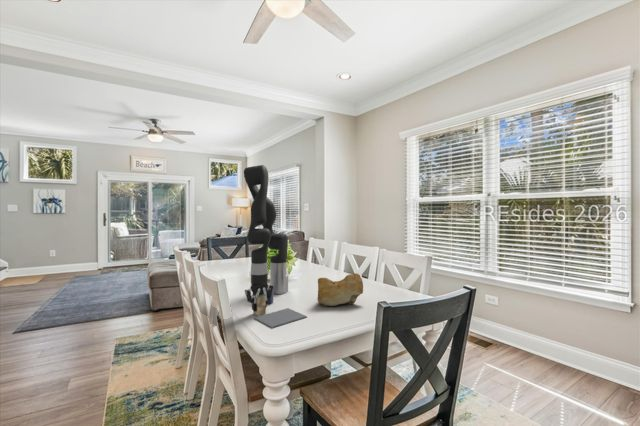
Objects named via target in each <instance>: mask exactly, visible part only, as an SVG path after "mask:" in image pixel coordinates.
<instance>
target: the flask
mask: <svg viewBox="0 0 640 426" xmlns="http://www.w3.org/2000/svg"><path fill="white" fill-rule="evenodd" d="M272 286H273V285H272ZM266 293H267V289H266ZM271 304H274V294H273V290H272V294H271V298H270V299H268V300H267V305H271Z"/></svg>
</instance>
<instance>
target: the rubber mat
mask: <svg viewBox="0 0 640 426" xmlns="http://www.w3.org/2000/svg"><path fill="white" fill-rule="evenodd" d="M253 318H254V320H255V321H257V322H259V323H261V324H263V325H265V326H267V327H268V328H270V329H274V328H278V327H281V326H284V325H288V324H290V323H293V322H296V321H301V320H303V319H306V318H308V316H307V315H305V314H302V313H300V312H298V311H295V310H293V309H291V308H289V307H287V308H283V309H280V310H277V311H273V312H268V313H266V314H263V315H260V316H257V315H256V316H254V317H253Z"/></svg>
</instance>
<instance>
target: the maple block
mask: <svg viewBox="0 0 640 426" xmlns="http://www.w3.org/2000/svg"><path fill="white" fill-rule="evenodd" d="M254 295H255V294H254ZM255 296H256V295H255ZM256 303H257V311H256V312H254V311H253V310H252V311H253V315H255V316H256V317H257V316H259V315H260V316H261V315H265V314H267V312H266V311H267V310H266V309H267V307H266V294H261V295H258V296H257V302H256Z"/></svg>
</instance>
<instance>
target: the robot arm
mask: <svg viewBox="0 0 640 426" xmlns="http://www.w3.org/2000/svg"><path fill="white" fill-rule="evenodd" d="M268 172H269V171H268V168H267V166H265V165H264V164H261V165H254V166H249V167H245V168H244V170H243V177H244V180H245V183H246V185H247V188H248V190H249V192H250V194H251V196H252V200H253V201H252V203H251V206H250V223H249V224H250V225H249V228H248V230H247V235H246V240H247V242H248V243H249V244H250V245H262V246H261V247H260V248H255V249H252V250H251V257H250V259H251V260H250V261H251V263H250V288H248V289H245V290H244V295H245V297H246V300H247V302H248V303H250V304H251V309H252V311H254V312H256V311H257V303H256V302H257V296H258V295H261V294H266V308H267V307H268V304H267V300H268V299H270V298H271V294H272V290H273V295H281V294H286V293H287V292H289V275H288V274H287V273H288V272H287V270H288V268H287V262H288V261H287V260H288V246H289V242H288V241H289V239H288V236H287V234H286V233H275V232H274V230H273V225H274V223H275V221H276V218H277V210H276V208H275V205H274V202H273V201H272V200H271V199H270V198H269V197H267V195H268V189H269V173H268ZM259 185H260V186H259ZM258 186H259V187H258ZM259 226H262V227H261V228H257V227H259ZM268 249H270V250H274V251H278V253H277V254H275V255H272V256H270V258H269V267H270V271H268V268H269V267H268ZM268 272H270V273H268ZM268 274H269V275H270V277H269V275H268ZM268 281H270V283H268ZM272 285H273V286H272ZM266 289H267V293H266ZM254 294H255V295H256V296H255V295H254Z"/></svg>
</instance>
